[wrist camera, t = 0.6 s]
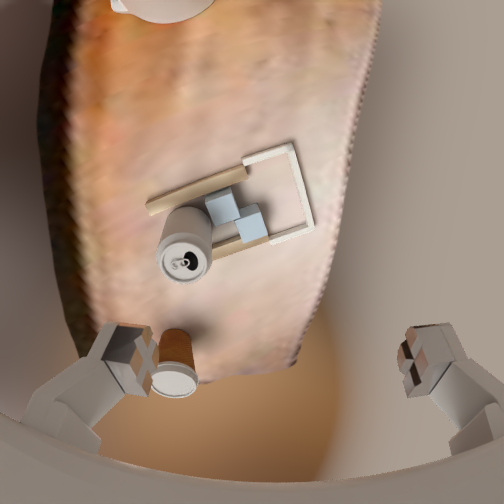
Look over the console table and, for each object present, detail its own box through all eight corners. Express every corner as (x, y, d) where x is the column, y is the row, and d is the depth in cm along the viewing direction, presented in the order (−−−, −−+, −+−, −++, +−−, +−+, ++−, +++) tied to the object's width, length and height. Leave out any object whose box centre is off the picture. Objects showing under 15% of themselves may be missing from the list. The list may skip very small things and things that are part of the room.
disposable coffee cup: (180, 316, 56) (177, 362, 46) (207, 344, 61) (209, 390, 51) (144, 333, 58) (135, 379, 47) (171, 360, 62) (169, 404, 52)
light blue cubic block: (232, 211, 48) (234, 221, 44) (256, 202, 48) (260, 211, 44) (240, 232, 50) (243, 243, 46) (263, 224, 50) (268, 234, 46)
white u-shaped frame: (241, 158, 44) (242, 160, 42) (289, 142, 43) (292, 143, 42) (269, 241, 51) (271, 245, 50) (312, 226, 51) (315, 230, 50)
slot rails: (146, 201, 45) (144, 204, 44) (243, 164, 44) (244, 166, 43) (179, 267, 51) (179, 272, 50) (267, 236, 51) (269, 240, 49)
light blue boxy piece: (205, 194, 46) (204, 202, 42) (229, 185, 46) (231, 193, 42) (214, 216, 48) (214, 226, 44) (238, 208, 48) (240, 217, 44)
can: (215, 243, 50) (217, 284, 40) (171, 250, 50) (162, 293, 39) (207, 200, 46) (206, 233, 36) (160, 209, 46) (147, 243, 35)
